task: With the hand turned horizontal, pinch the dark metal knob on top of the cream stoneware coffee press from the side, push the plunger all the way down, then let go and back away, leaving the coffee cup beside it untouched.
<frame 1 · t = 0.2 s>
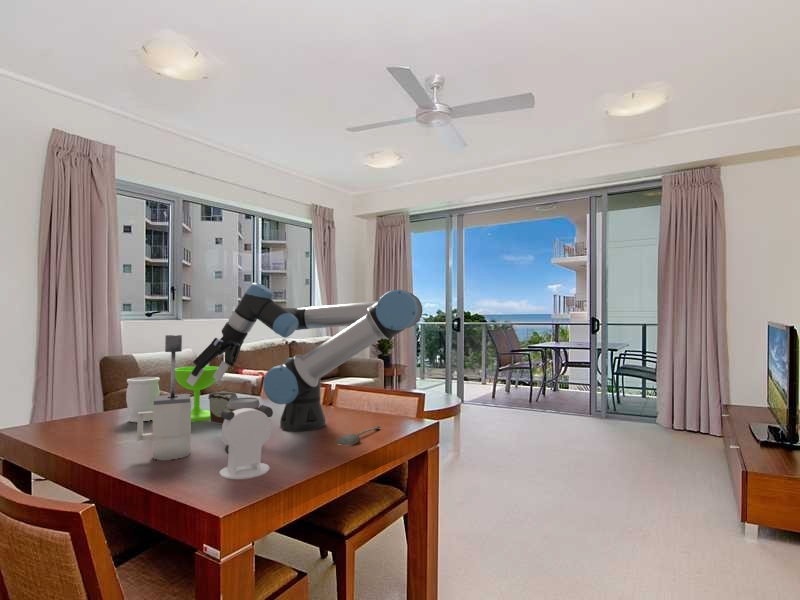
hand: (203, 381, 151), 16 cm above the table, tool tilted 35°, fingers open, 13 cm apart
press pot: (171, 455, 125), on the table
soupspoon: (361, 439, 144), on the table
plunger: (173, 367, 126), point 24 cm above the table, slide at 0.0 cm
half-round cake: (226, 422, 165), on the table
panda figurine: (246, 471, 113), on the table
jar: (142, 420, 167), on the table
disposable coffee cup: (243, 440, 141), on the table
wineglass: (196, 417, 172), on the table
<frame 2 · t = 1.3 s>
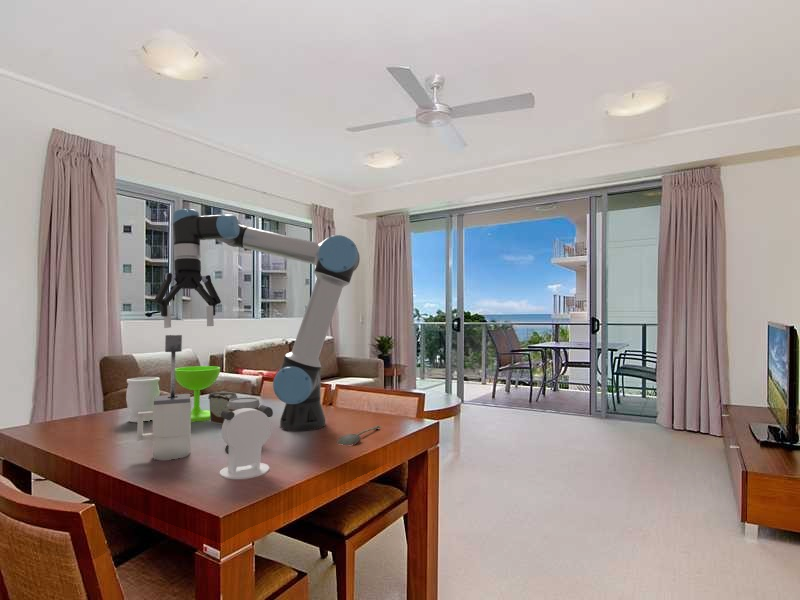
hand: (189, 327, 145), 34 cm above the table, tool pointing down, fingers open, 13 cm apart
nothing on the table moved.
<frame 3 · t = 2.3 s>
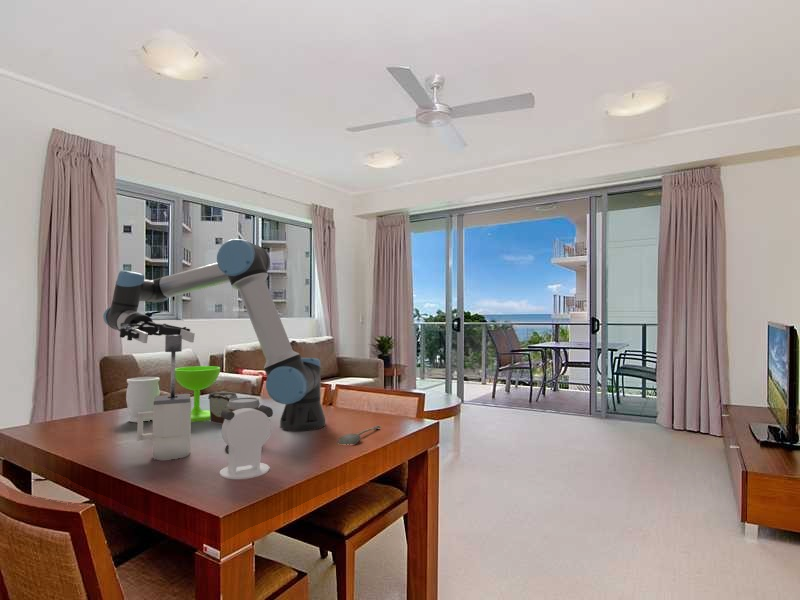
hand: (170, 338, 133), 31 cm above the table, tool horizontal, fingers open, 13 cm apart
nothing on the table moved.
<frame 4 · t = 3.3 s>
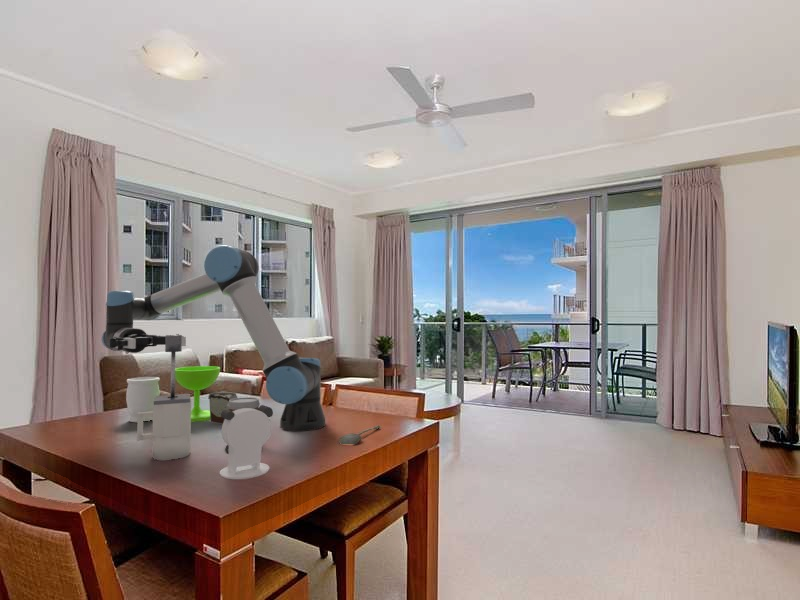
hand: (160, 342, 131), 30 cm above the table, tool horizontal, fingers open, 13 cm apart
nothing on the table moved.
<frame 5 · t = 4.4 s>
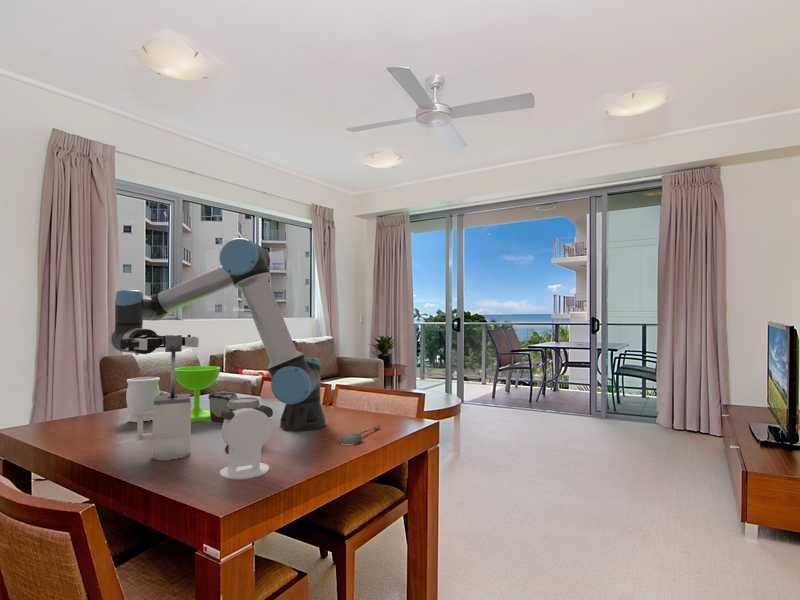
hand: (172, 343, 126), 30 cm above the table, tool horizontal, fingers open, 13 cm apart
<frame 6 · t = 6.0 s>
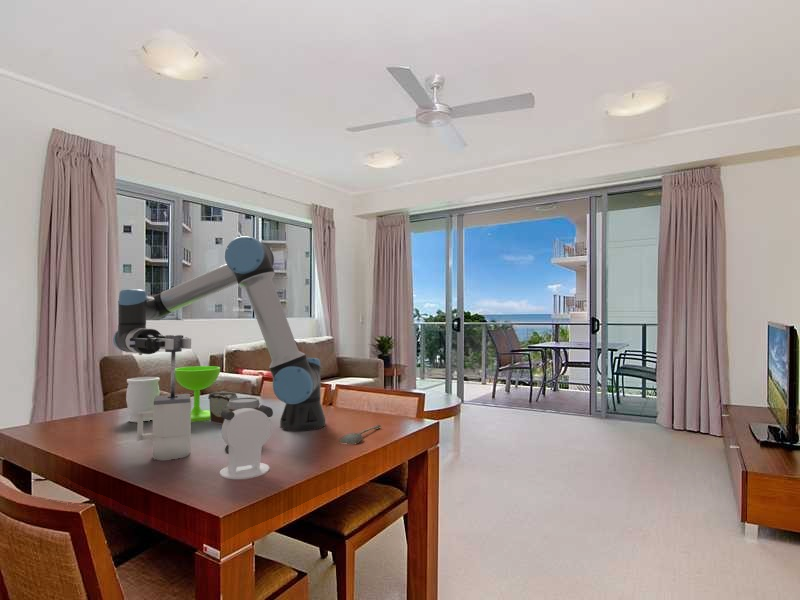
hand: (180, 344, 123), 30 cm above the table, tool horizontal, fingers closed on plunger, 4 cm apart
plunger: (173, 367, 126), point 24 cm above the table, slide at 0.0 cm, touching gripper
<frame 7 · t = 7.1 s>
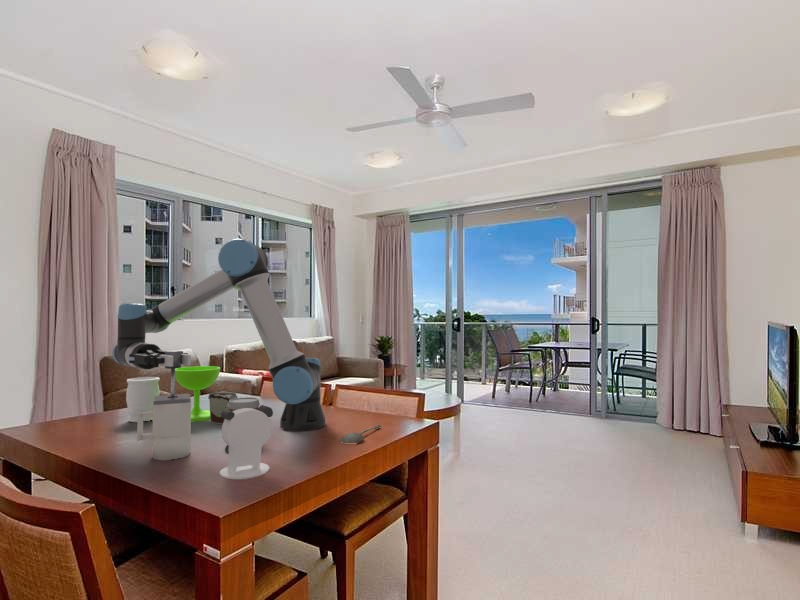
hand: (180, 360, 123), 26 cm above the table, tool horizontal, fingers closed on plunger, 4 cm apart
plunger: (172, 383, 126), point 19 cm above the table, slide at 4.4 cm, touching gripper
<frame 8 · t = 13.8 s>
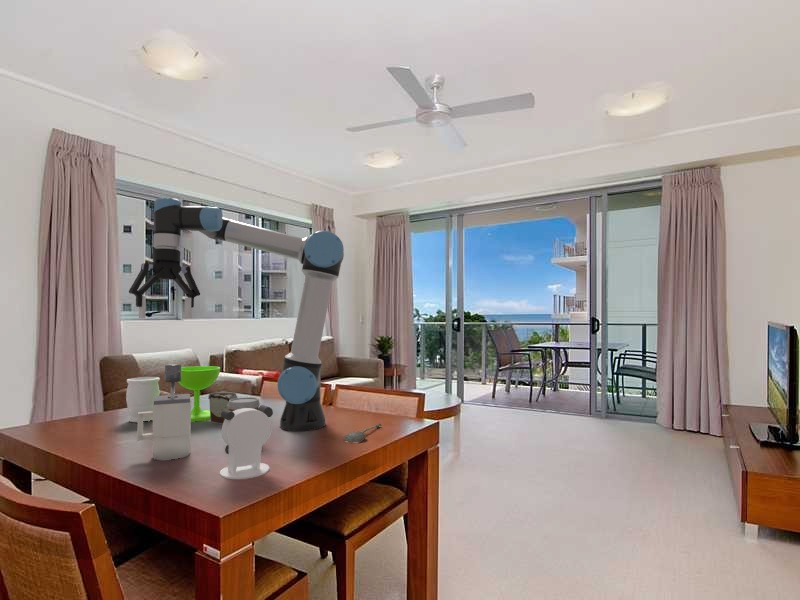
hand: (165, 318, 142), 37 cm above the table, tool pointing down, fingers open, 13 cm apart
soupspoon: (365, 436, 147), on the table
plunger: (172, 396, 126), point 16 cm above the table, slide at 8.0 cm
everything else where it was.
at the end: plunger slide at 8.0 cm; the gripper is holding nothing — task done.
